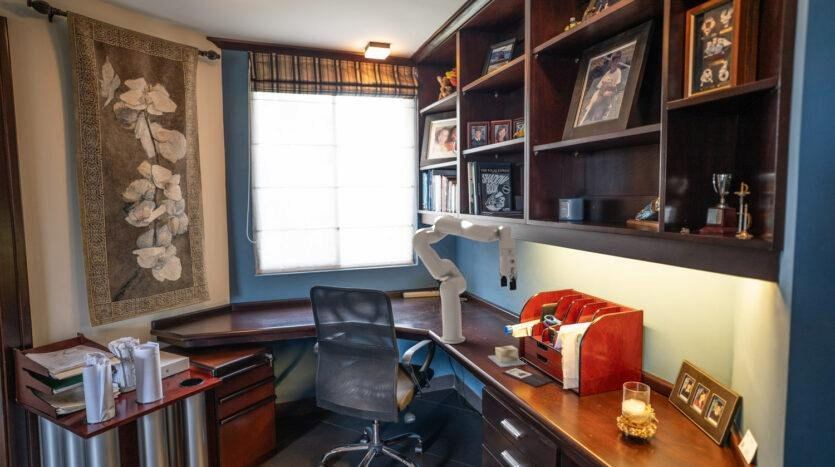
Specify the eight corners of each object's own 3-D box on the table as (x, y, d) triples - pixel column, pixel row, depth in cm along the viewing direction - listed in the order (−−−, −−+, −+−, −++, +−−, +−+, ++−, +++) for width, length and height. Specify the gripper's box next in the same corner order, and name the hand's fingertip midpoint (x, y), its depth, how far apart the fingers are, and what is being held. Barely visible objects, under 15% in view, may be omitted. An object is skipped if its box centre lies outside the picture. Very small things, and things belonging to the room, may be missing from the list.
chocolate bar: (536, 386, 167) (502, 372, 182) (536, 388, 167) (502, 374, 182) (552, 380, 172) (518, 367, 187) (552, 382, 172) (518, 369, 187)
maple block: (512, 356, 201) (512, 345, 200) (518, 360, 195) (517, 349, 195) (495, 358, 199) (495, 347, 199) (500, 362, 194) (500, 351, 193)
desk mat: (487, 356, 202) (487, 356, 202) (512, 353, 205) (512, 353, 205) (500, 367, 189) (500, 366, 189) (527, 364, 192) (527, 363, 192)
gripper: (523, 253, 204) (524, 290, 205) (507, 249, 221) (507, 284, 222) (508, 254, 203) (509, 292, 204) (492, 250, 219) (493, 285, 220)
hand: (508, 288), depth 213 cm, fingers open, 9 cm apart
